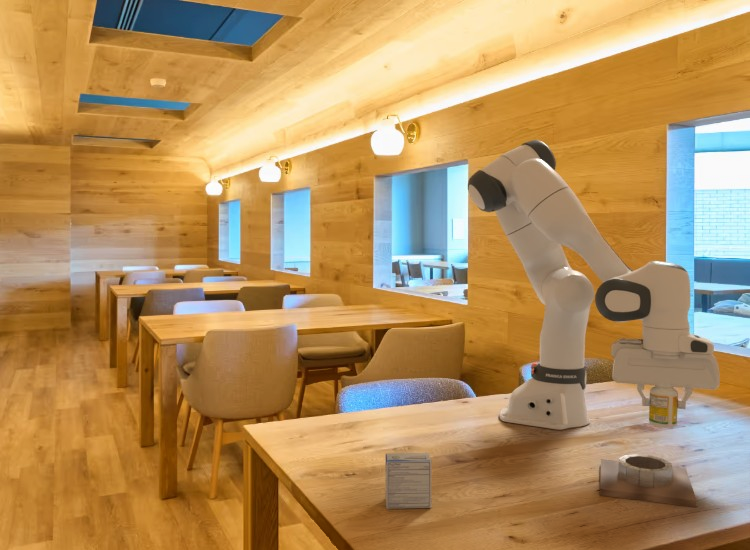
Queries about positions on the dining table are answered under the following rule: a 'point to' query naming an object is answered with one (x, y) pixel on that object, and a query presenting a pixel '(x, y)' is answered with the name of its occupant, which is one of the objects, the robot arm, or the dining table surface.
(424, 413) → the dining table surface
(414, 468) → the medicine box
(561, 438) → the dining table surface
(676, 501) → the holder board
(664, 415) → the supplement bottle
